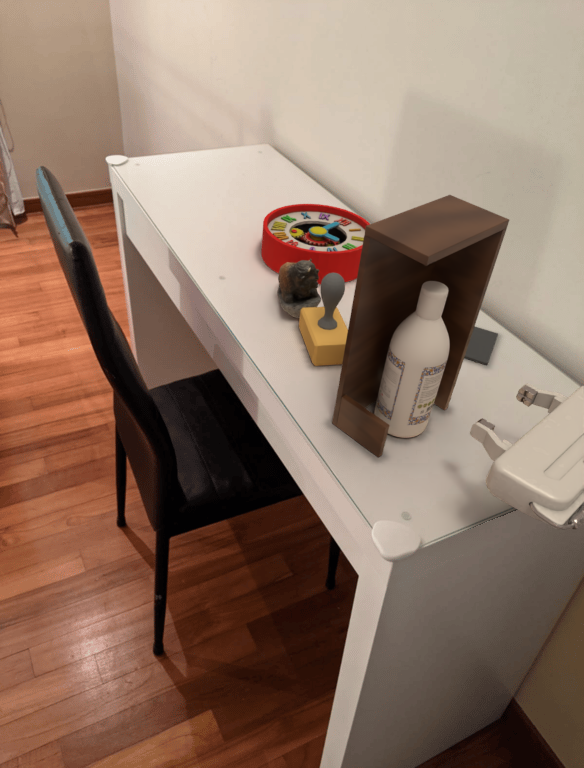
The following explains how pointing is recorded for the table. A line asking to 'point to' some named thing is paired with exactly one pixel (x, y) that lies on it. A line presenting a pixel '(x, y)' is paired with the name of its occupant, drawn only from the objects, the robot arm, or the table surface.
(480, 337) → the pad
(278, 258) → the toy clock
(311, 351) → the rubber stamp
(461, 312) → the cabinet
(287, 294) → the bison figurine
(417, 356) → the bath foam
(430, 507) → the table surface
